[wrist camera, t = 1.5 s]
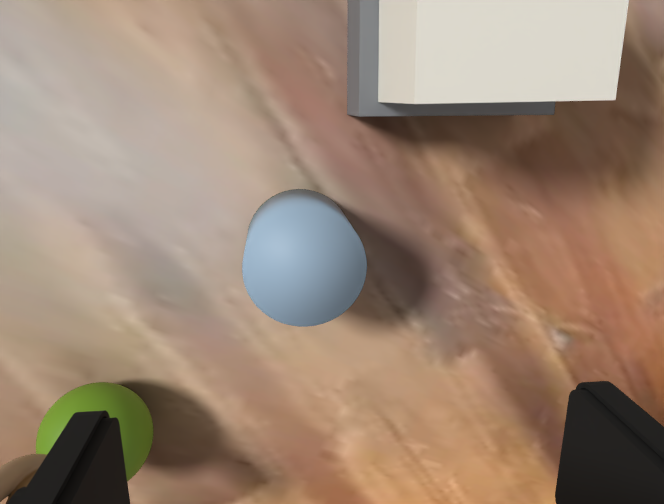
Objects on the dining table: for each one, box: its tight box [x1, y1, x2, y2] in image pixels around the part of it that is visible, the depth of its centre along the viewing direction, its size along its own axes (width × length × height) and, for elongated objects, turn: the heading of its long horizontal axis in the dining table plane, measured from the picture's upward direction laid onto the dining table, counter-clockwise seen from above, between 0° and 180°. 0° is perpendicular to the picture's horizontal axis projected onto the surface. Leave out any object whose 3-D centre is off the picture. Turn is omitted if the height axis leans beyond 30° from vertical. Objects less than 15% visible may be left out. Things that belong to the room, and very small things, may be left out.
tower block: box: [378, 0, 629, 104], centre depth 19 cm, size 7×7×6 cm
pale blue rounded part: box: [242, 189, 367, 326], centre depth 26 cm, size 6×6×5 cm
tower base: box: [347, 0, 556, 116], centre depth 24 cm, size 9×9×4 cm
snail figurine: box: [0, 382, 153, 504], centre depth 23 cm, size 5×6×12 cm
